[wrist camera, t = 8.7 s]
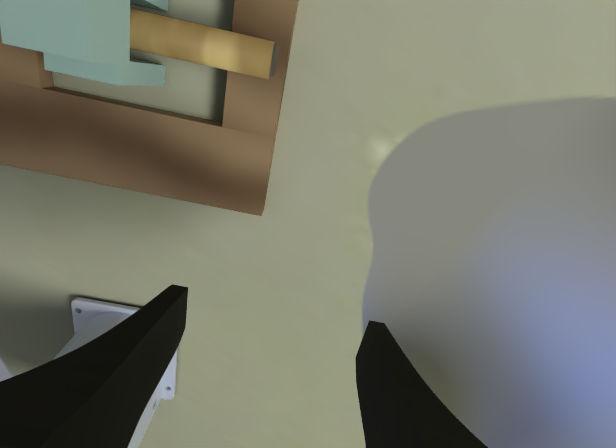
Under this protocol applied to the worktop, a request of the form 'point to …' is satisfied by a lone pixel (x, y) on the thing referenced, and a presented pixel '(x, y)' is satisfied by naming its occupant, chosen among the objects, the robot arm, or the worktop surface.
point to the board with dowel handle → (160, 114)
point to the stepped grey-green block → (81, 37)
